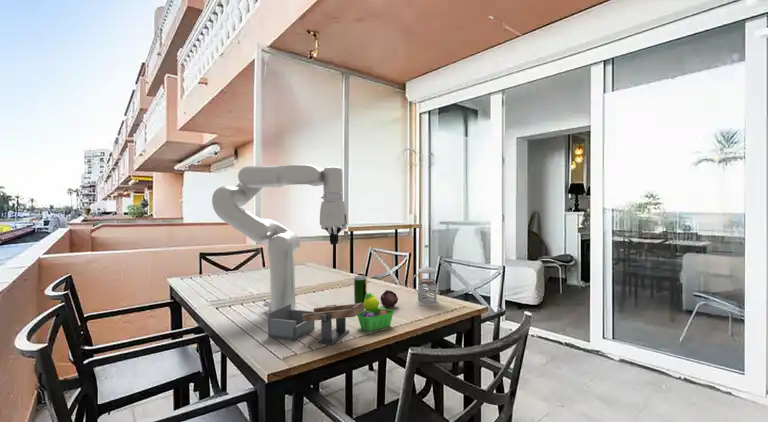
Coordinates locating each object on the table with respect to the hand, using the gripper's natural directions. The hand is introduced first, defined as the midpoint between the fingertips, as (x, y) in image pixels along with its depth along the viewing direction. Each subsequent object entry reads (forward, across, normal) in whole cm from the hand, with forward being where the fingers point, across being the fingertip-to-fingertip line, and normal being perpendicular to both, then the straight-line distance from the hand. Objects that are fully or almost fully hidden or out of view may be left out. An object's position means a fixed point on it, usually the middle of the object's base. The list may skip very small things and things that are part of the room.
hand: (334, 244), depth 147 cm
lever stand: (+27, +12, -26) cm, 40 cm away
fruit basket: (+27, +21, -12) cm, 37 cm away
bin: (+27, -3, -26) cm, 38 cm away
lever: (+20, +13, -22) cm, 32 cm away
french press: (+27, +31, +24) cm, 48 cm away
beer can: (+27, +5, +14) cm, 31 cm away
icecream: (+27, +18, +14) cm, 36 cm away
